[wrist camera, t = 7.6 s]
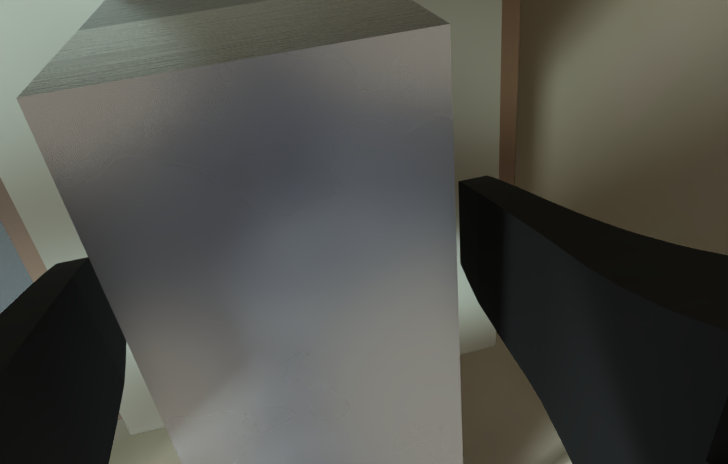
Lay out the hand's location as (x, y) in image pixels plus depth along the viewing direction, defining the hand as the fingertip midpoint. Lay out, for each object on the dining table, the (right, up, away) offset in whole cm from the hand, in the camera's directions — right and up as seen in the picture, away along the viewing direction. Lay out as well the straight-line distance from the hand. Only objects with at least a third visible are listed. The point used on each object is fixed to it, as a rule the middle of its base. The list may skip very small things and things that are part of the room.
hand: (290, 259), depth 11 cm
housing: (-1, +2, +2) cm, 3 cm away
